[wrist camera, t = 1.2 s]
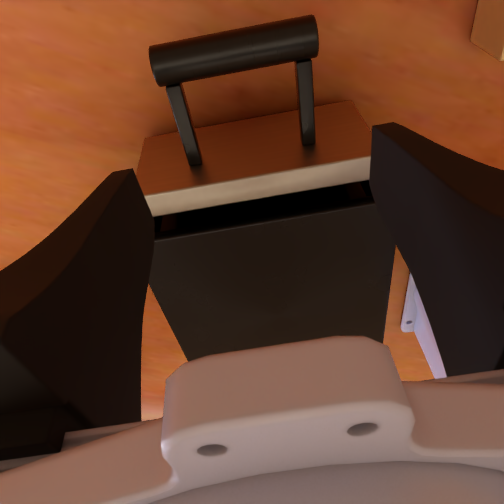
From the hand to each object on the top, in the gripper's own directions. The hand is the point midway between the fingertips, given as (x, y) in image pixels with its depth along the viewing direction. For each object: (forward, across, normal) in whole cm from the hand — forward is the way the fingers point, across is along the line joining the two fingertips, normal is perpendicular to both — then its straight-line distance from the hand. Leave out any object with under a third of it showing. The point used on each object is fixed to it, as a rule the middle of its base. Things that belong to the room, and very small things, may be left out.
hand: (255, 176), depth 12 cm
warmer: (+9, 0, +11) cm, 14 cm away
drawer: (+9, 0, +6) cm, 10 cm away
